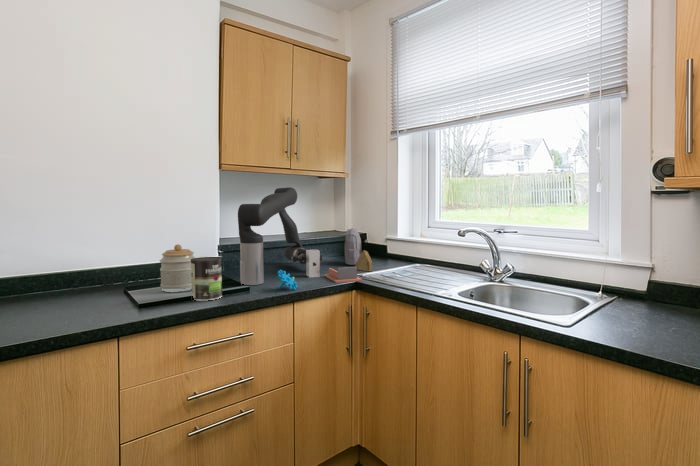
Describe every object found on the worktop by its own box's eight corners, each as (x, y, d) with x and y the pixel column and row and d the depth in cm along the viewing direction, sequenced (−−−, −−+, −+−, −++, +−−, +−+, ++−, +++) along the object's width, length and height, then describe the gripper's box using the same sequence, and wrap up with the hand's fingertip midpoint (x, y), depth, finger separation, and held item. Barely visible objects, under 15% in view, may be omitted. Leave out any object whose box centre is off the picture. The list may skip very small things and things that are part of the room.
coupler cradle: (336, 283, 160) (336, 269, 159) (324, 276, 175) (324, 263, 174) (362, 280, 164) (362, 267, 164) (348, 274, 179) (348, 262, 179)
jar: (189, 284, 157) (188, 242, 156) (202, 289, 148) (201, 244, 146) (155, 289, 148) (154, 244, 146) (167, 295, 139) (166, 247, 137)
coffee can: (228, 296, 136) (227, 257, 135) (204, 303, 128) (203, 261, 127) (210, 293, 142) (209, 255, 141) (185, 299, 133) (184, 259, 132)
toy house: (379, 267, 186) (374, 261, 196) (369, 253, 184) (365, 248, 194) (361, 280, 186) (357, 273, 196) (351, 267, 184) (348, 261, 194)
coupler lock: (309, 277, 171) (309, 251, 170) (306, 275, 176) (306, 249, 175) (320, 276, 173) (319, 250, 172) (316, 274, 178) (316, 249, 177)
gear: (290, 288, 142) (275, 268, 144) (280, 299, 143) (264, 279, 145) (303, 286, 152) (288, 268, 155) (293, 296, 153) (279, 277, 156)
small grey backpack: (349, 262, 216) (349, 227, 214) (363, 262, 214) (363, 227, 213) (343, 266, 201) (343, 228, 200) (358, 267, 200) (359, 229, 198)
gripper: (288, 248, 189) (295, 252, 174) (315, 247, 195) (325, 251, 180) (288, 263, 190) (295, 268, 175) (315, 262, 195) (325, 267, 180)
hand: (310, 260), depth 177 cm, fingers open, 8 cm apart
